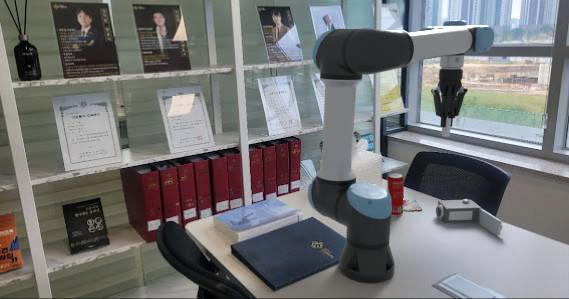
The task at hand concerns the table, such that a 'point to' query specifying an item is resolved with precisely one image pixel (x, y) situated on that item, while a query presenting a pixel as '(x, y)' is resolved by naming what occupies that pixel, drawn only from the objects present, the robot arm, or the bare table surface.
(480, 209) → the side door
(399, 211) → the beverage can
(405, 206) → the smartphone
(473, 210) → the grey video camera
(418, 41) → the robot arm
